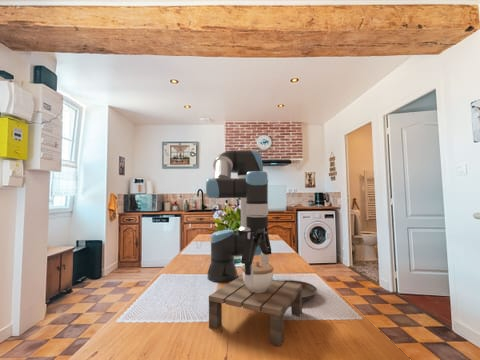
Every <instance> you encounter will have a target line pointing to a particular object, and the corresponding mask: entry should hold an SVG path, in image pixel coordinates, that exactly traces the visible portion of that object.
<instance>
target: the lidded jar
mask: <svg viewBox="0 0 480 360" xmlns="http://www.w3.org/2000/svg"><path fill="white" fill-rule="evenodd" d="M252 264H253V281H254V285H248V284H245V285H246V287H247V288H248V289H249V290H250V291H251V292H255V293H262V292H265V291H266V290H267V289H268V288H269V286H270V285H271V283H272V280H274V266H273V265H272V264H270V263H269V264H267V263H261V262H260V261H256V262H252ZM241 271H242V272H241V273H242V274H241V275H243V281H244V283H245V264H242V266H241Z"/></svg>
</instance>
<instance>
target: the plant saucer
mask: <svg viewBox="0 0 480 360" xmlns="http://www.w3.org/2000/svg"><path fill="white" fill-rule="evenodd" d="M283 281H285V283H286V282H292V283H298V284H302V303H305V302H308V301H310V300H312V298H314V296H315V295H316V294H317V291H318V288H317V287H316V286H315V285H313V284H311V283H309V282H307V281H306V282H305V281H300V280H291V279H289V280H283Z"/></svg>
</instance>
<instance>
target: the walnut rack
mask: <svg viewBox="0 0 480 360" xmlns="http://www.w3.org/2000/svg"><path fill="white" fill-rule="evenodd" d="M224 304H225V305H228V306H232V307H237V308H243V309H244V310H245V309H246V310H250V311H255V312H259V313H260V312H261V313H265V314H269V330H270V331H269V339H270V340H269V342H270V343H269V344H270V345H272V346H275V347H281V346H282V345H283V343H284V342H285V339H284V338H285V337H284V334H285V333H284V314H285V313H286V312H287V311H288V309H289V308H290V306H291V309H290V311H291V315H294V314H297V315H296V316H299V315H300V314H302V313H303V302H302V284H298V283H292V282H286V283H285V281H284V280H279V279H272V283H271V285H270V286H269V288H268V289H267V290H266V291H265V292H262V293H255V292H251V291H250V290H249V289H248V288H247V287H246V285H245V283H244V281H243V274H241V275H240V276H237V278H236V279H235V280H232V281H229V282H228V283H226V284H225V285H224V286H222V287H221V288H219V289H218V290H216V291H214V292H213V293H211V294H209V295H208V328H210V329H214V330H218V329H219V328H220V327H222V325H223V318H222V317H223V313H222V309H223V308H222V307H223V306H222V305H224ZM300 316H301V315H300Z"/></svg>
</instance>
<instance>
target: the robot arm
mask: <svg viewBox="0 0 480 360" xmlns="http://www.w3.org/2000/svg"><path fill="white" fill-rule="evenodd" d="M262 159H263V158H262V155H261V152H260V151H258V150H251V149H250V150H249V149H248V150H246V149H245V150H243V149H242V150H231V149H230V150H226V151H224V152H222V153H219V154H218V156H216V157H215V158H214V160H213V163H212V164H213V165H212V167H213V170H214V171H213V177H212V178H207V179H206V183H205V192H206V193H205V194H206V197H207V198H209V199H240V226H239V228H238V229H237V232H235V231H234V230H233V229H223V230H218V231H215V232H213V233H211V235H210V264H209V267H208V271H207V279H208V280H209V281H212V282H217V283H218V282H220V283H224V282H232V281H233V280H235V279H237V278H238V270H237V268H236V264H235V258H234V257H241V259H240V263H241V264H242V265H245V284H248V285H254V281H253V264H252V263H253V261H254V257H255V256H256V257H257V256H261V257H260V259H261V261H260V263H267V264H270V255H272V246H271V242H270V237H269V228H268V227H269V217H268V215H269V201H268V199H269V195H268V193H269V192H268V191H269V190H268V189H269V187H268V186H269V177H268V173H267V172H266V171H263V169H264V168H263V166H264V165H263V160H262ZM232 173H233V174H237V178H234V177H233V178H232Z"/></svg>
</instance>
